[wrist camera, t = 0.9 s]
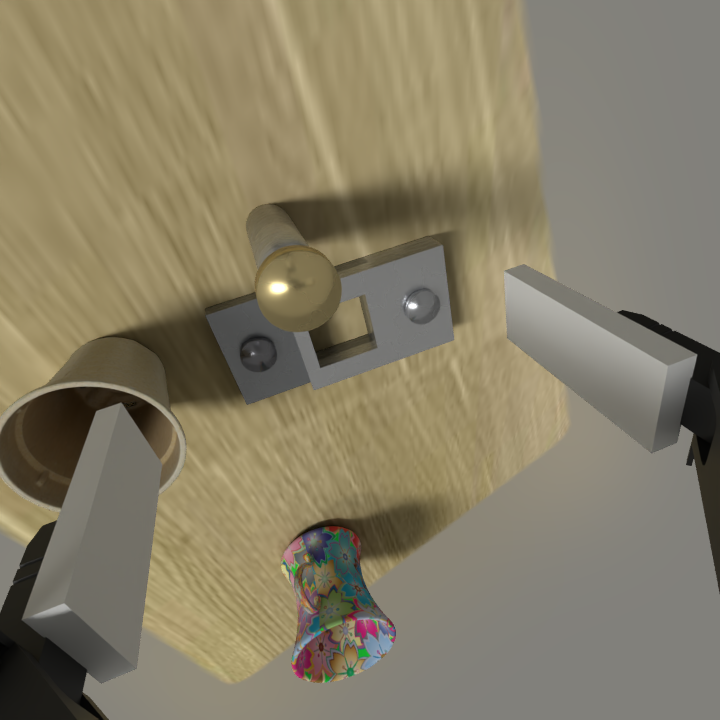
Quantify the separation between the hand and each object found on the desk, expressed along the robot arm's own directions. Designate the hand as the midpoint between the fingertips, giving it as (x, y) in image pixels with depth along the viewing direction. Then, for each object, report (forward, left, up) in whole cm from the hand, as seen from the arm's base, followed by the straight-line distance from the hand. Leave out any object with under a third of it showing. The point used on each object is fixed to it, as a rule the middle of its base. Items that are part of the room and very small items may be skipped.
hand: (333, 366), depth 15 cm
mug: (+32, -6, -18) cm, 37 cm away
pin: (0, 0, -18) cm, 18 cm away
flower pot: (+6, -13, -18) cm, 24 cm away
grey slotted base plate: (+8, +3, -18) cm, 20 cm away
